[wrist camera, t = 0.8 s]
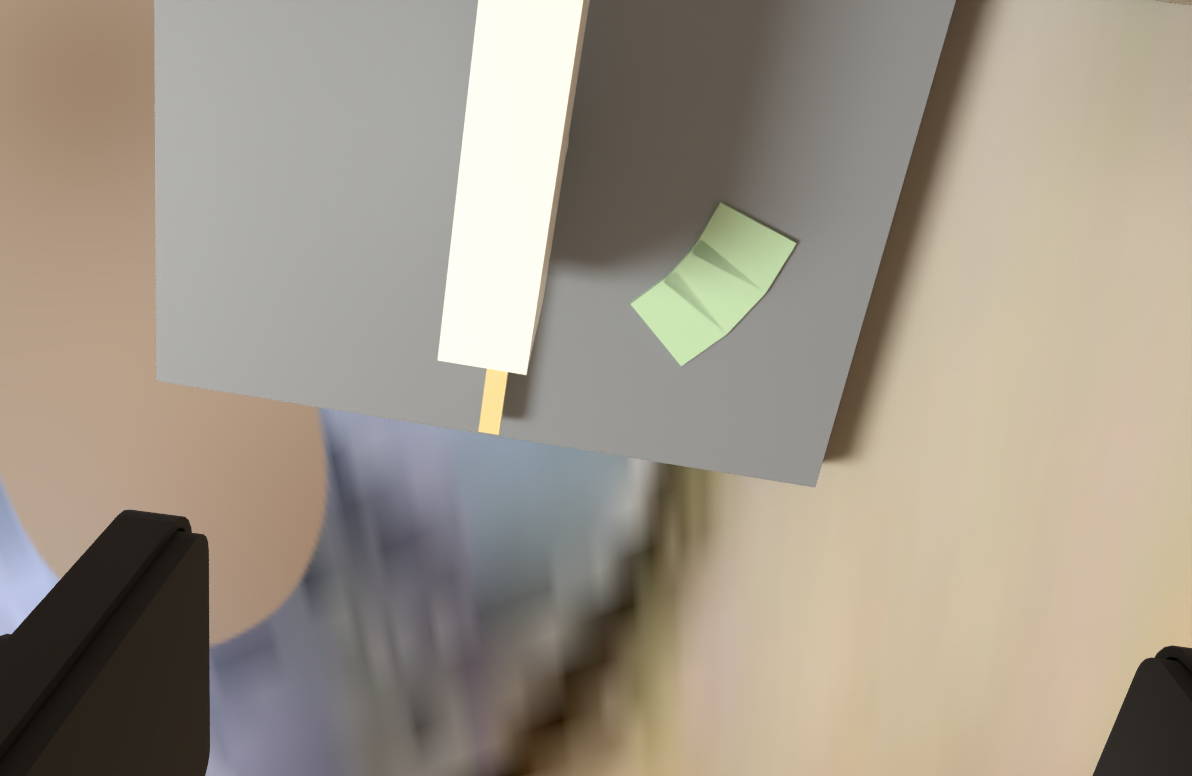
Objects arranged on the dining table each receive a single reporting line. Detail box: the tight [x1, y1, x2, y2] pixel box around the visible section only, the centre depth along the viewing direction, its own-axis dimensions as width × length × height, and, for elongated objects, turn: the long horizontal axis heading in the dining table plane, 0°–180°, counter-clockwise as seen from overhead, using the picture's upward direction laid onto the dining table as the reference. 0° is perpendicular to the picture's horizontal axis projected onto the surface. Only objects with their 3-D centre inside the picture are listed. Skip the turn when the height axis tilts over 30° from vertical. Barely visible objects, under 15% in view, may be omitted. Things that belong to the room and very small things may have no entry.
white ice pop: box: [438, 0, 590, 435], centre depth 25 cm, size 12×2×6 cm, turn 170°
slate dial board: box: [154, 0, 956, 487], centre depth 28 cm, size 18×20×2 cm
